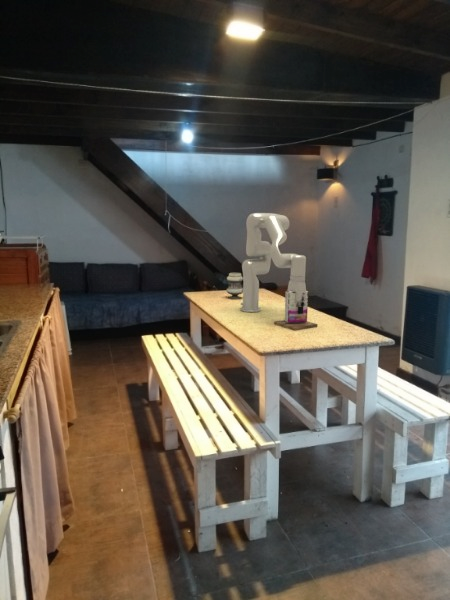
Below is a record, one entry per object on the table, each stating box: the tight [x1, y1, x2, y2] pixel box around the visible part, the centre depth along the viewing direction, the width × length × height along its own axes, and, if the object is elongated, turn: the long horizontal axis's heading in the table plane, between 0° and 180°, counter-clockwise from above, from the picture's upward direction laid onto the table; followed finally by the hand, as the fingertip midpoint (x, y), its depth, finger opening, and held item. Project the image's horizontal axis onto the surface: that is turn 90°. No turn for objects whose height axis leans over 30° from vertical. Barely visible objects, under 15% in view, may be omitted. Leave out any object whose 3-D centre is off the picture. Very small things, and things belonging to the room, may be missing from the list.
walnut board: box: [273, 319, 318, 331], centre depth 234 cm, size 16×16×2 cm
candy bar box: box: [284, 290, 309, 323], centre depth 232 cm, size 11×5×16 cm, turn 106°
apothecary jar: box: [226, 272, 243, 301], centre depth 312 cm, size 12×12×18 cm
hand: (295, 312), depth 233 cm, fingers closed on candy bar box, 6 cm apart
